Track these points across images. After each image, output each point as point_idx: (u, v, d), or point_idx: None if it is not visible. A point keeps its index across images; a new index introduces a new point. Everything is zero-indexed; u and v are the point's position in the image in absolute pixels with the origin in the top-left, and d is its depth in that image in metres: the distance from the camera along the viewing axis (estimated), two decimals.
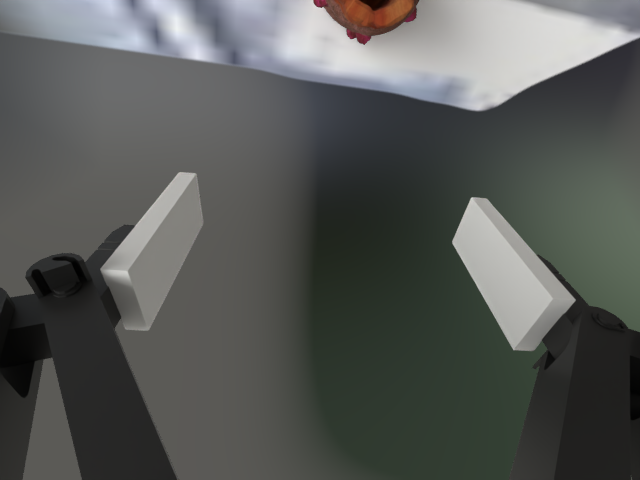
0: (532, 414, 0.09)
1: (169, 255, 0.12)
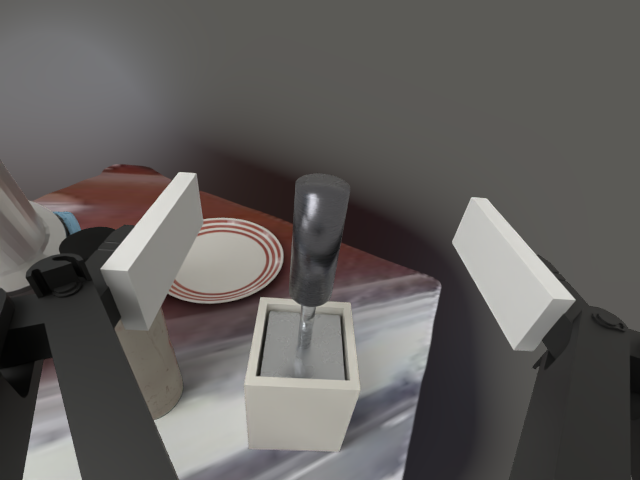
0: (533, 414, 0.09)
1: (169, 255, 0.12)
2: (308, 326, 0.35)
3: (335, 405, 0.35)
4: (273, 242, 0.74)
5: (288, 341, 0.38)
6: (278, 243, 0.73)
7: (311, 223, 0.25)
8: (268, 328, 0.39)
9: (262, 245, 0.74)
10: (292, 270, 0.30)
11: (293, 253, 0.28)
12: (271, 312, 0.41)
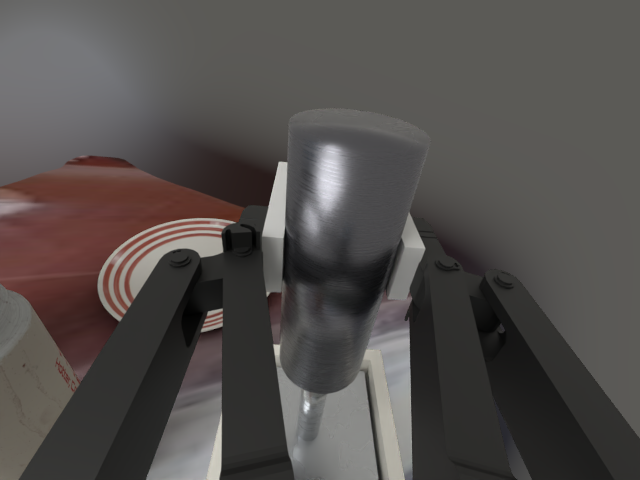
0: (415, 369, 0.10)
1: None
2: (315, 411, 0.19)
3: None
4: None
5: None
6: None
7: (329, 226, 0.10)
8: None
9: None
10: (284, 324, 0.14)
11: (286, 291, 0.13)
12: None
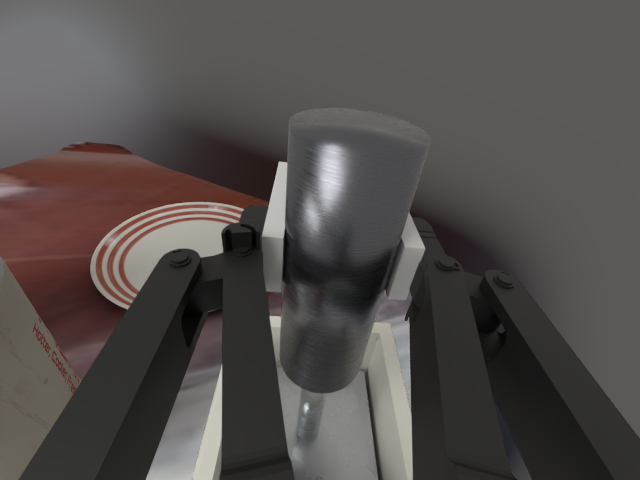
0: (415, 369, 0.10)
1: None
2: (315, 410, 0.19)
3: None
4: None
5: None
6: None
7: (328, 225, 0.10)
8: None
9: None
10: (284, 323, 0.14)
11: (286, 291, 0.13)
12: None
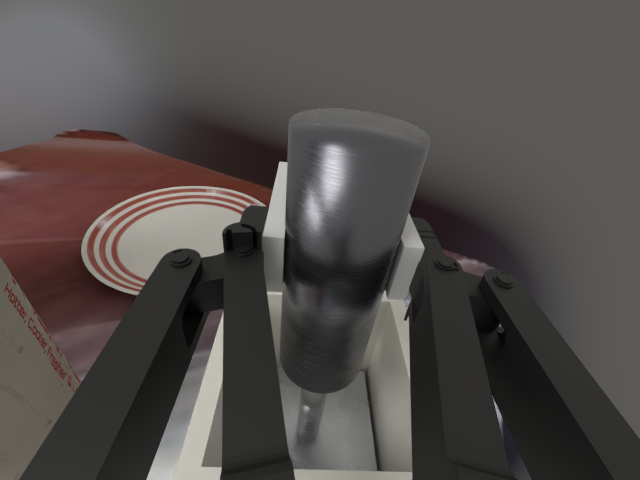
0: (414, 369, 0.10)
1: None
2: (315, 410, 0.19)
3: None
4: None
5: None
6: None
7: (329, 226, 0.10)
8: None
9: None
10: (284, 324, 0.14)
11: (286, 291, 0.13)
12: None
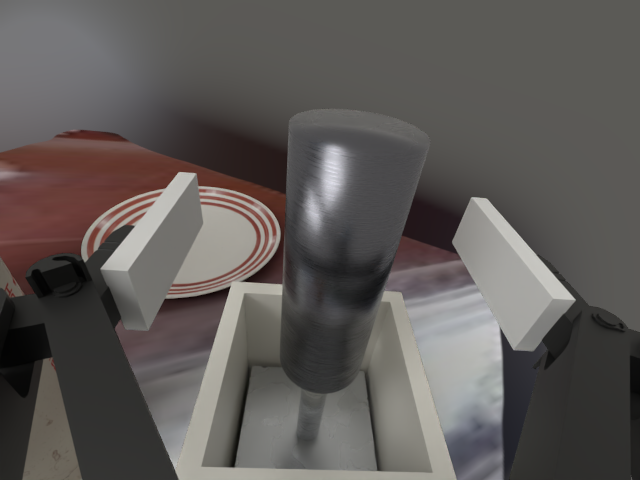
0: (533, 414, 0.09)
1: (169, 255, 0.12)
2: (315, 410, 0.19)
3: None
4: (266, 217, 0.54)
5: (281, 424, 0.22)
6: (273, 218, 0.54)
7: (328, 226, 0.10)
8: (248, 399, 0.24)
9: (251, 221, 0.55)
10: (284, 324, 0.14)
11: (286, 291, 0.13)
12: (255, 368, 0.26)
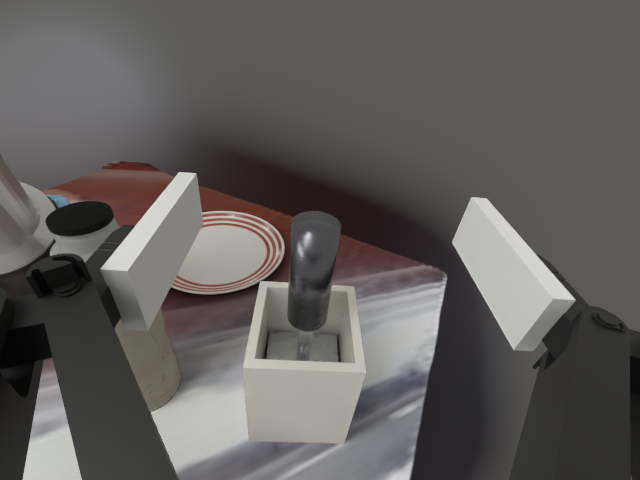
0: (533, 414, 0.09)
1: (169, 255, 0.12)
2: (305, 347, 0.37)
3: (339, 390, 0.33)
4: (273, 235, 0.72)
5: None
6: (279, 235, 0.72)
7: (305, 259, 0.28)
8: (268, 348, 0.41)
9: (262, 237, 0.73)
10: (289, 298, 0.32)
11: (290, 283, 0.31)
12: (272, 332, 0.44)
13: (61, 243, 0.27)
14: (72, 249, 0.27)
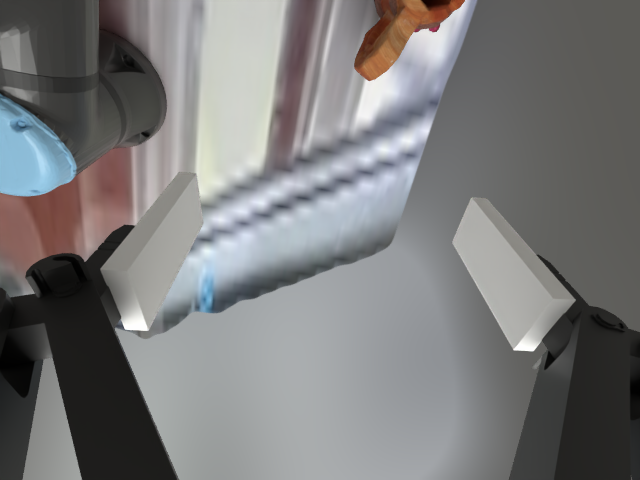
0: (532, 414, 0.09)
1: (169, 254, 0.12)
2: None
3: None
4: None
5: None
6: None
7: None
8: None
9: None
10: None
11: None
12: None
13: None
14: None
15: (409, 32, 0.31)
